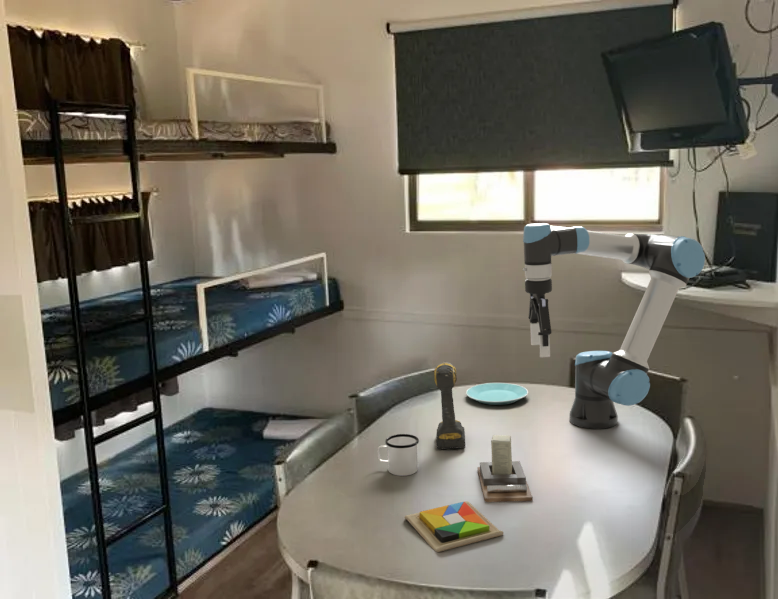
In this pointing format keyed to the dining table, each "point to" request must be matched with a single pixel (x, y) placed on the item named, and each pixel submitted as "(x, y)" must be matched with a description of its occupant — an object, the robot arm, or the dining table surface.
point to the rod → (506, 488)
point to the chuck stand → (503, 483)
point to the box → (501, 455)
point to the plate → (497, 393)
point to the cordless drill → (448, 409)
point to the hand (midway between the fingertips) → (540, 350)
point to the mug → (401, 454)
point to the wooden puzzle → (452, 526)
